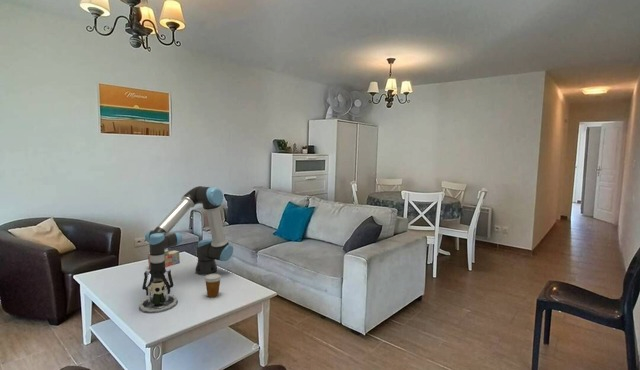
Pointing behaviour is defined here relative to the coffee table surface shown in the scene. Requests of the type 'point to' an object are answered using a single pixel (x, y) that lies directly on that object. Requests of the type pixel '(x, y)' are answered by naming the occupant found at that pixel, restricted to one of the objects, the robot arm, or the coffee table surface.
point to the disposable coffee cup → (212, 284)
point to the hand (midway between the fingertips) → (158, 300)
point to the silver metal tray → (151, 308)
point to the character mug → (157, 291)
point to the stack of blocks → (169, 258)
